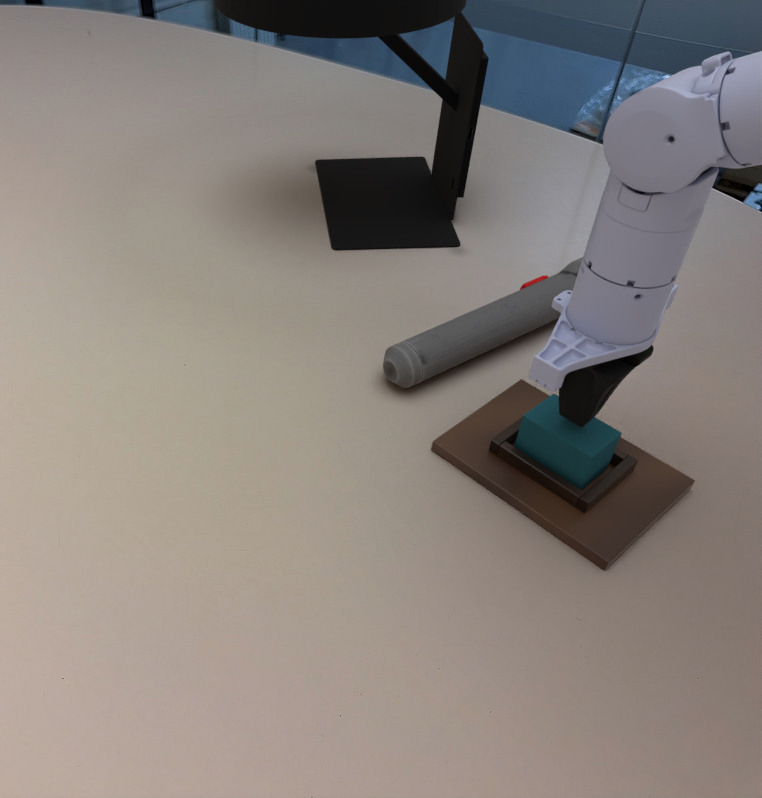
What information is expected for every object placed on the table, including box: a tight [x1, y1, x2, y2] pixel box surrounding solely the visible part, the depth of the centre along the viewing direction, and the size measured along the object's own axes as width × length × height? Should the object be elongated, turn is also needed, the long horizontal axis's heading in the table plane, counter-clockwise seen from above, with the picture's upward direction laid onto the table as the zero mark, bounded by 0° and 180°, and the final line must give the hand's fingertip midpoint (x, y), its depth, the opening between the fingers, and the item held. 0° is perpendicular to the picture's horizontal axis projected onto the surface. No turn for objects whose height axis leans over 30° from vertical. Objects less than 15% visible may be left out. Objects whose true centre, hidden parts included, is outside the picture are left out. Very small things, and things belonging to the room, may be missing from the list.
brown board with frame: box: [430, 378, 696, 571], centre depth 65 cm, size 16×12×2 cm
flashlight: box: [382, 256, 583, 389], centre depth 77 cm, size 5×28×5 cm
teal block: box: [514, 392, 623, 490], centre depth 63 cm, size 6×4×4 cm, turn 39°
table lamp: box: [213, 0, 490, 251], centre depth 85 cm, size 26×28×40 cm
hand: (575, 416), depth 62 cm, fingers closed
